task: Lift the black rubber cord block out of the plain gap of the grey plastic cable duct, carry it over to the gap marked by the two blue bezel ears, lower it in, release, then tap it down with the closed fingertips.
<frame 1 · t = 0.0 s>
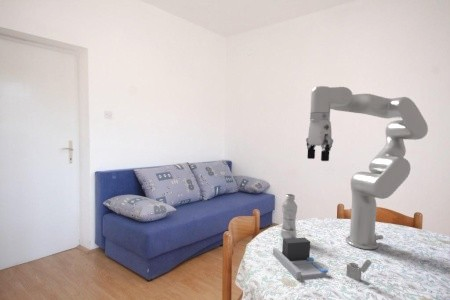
hand: (317, 159, 109), 37 cm above the table, tool pointing down, fingers open, 9 cm apart
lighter: (358, 281, 86), on the table
plastic bottle: (288, 239, 119), on the table
cord block: (295, 258, 99), point 1 cm above the table, touching duct
duct: (299, 266, 94), on the table
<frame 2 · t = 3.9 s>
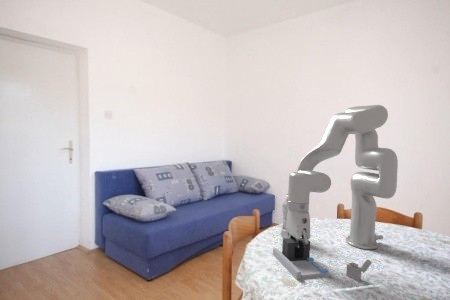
hand: (295, 254, 99), 2 cm above the table, tool pointing down, fingers closed on cord block, 4 cm apart
cord block: (295, 258, 99), point 1 cm above the table, touching duct, gripper
everything else where it was.
when the fingers open (3 cm above the table, at t = 8.9 s): cord block stays where it is, resting on duct.
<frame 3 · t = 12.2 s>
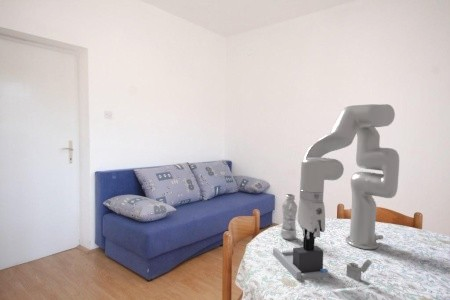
hand: (308, 249, 90), 8 cm above the table, tool pointing down, fingers closed
cord block: (307, 269, 91), point 1 cm above the table, touching duct, gripper
everything else where it was.
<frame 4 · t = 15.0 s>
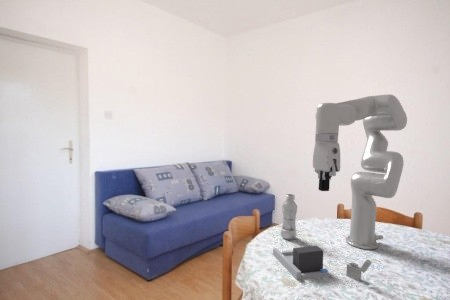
hand: (323, 190, 94), 27 cm above the table, tool pointing down, fingers closed
cord block: (307, 269, 91), point 1 cm above the table, touching duct
everything else where it was.
at the end: cord block inside the target area on the duct (0.1 cm from its centre), point 0.8 cm above the duct's base; cord block tilted 2°; the gripper is holding nothing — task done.
